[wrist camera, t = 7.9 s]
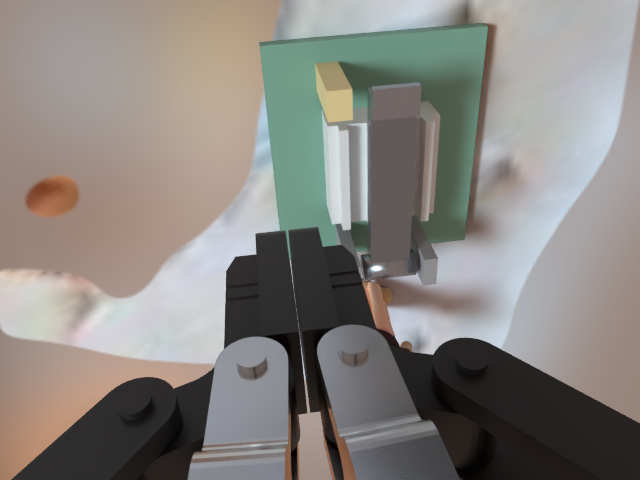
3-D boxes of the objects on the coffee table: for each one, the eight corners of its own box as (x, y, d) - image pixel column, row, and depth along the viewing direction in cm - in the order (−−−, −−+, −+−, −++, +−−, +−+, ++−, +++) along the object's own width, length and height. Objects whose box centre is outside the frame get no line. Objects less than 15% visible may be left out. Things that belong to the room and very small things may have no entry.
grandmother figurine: (408, 283, 52) (451, 387, 42) (393, 314, 54) (430, 420, 44) (332, 267, 50) (357, 372, 40) (318, 300, 52) (339, 408, 42)
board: (259, 42, 39) (263, 74, 32) (482, 23, 40) (528, 51, 34) (282, 253, 49) (289, 309, 42) (460, 233, 50) (492, 284, 44)
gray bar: (358, 78, 36) (365, 90, 34) (419, 73, 36) (429, 84, 34) (360, 270, 44) (365, 287, 43) (409, 264, 45) (417, 281, 43)
